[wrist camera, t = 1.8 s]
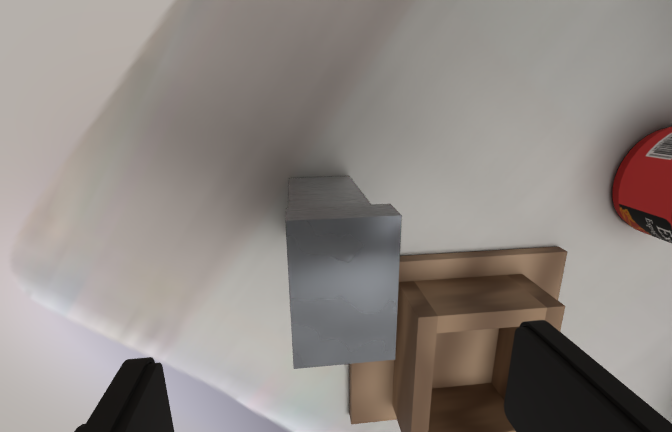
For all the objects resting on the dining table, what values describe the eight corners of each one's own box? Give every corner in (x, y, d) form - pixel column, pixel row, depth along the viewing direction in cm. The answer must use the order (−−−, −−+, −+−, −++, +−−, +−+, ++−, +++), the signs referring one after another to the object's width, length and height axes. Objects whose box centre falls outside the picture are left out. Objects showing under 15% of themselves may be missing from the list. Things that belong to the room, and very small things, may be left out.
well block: (557, 246, 28) (618, 280, 23) (530, 395, 32) (576, 452, 27) (349, 258, 26) (364, 298, 21) (349, 414, 31) (361, 478, 25)
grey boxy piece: (349, 160, 24) (401, 215, 13) (349, 245, 26) (395, 359, 15) (287, 162, 24) (285, 220, 12) (292, 248, 26) (293, 368, 14)
